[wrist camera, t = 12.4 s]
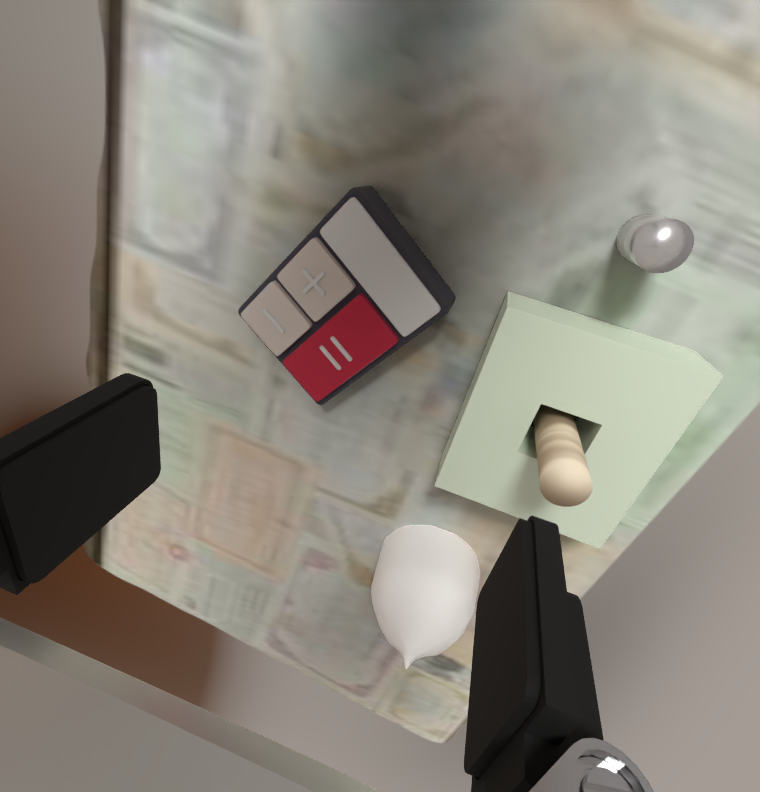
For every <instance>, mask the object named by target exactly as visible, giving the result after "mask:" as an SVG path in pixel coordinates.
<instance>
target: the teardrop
mask: <svg viewBox="0 0 760 792" xmlns="http://www.w3.org/2000/svg"><path fill="white" fill-rule="evenodd" d="M480 575H481V574H480V569H479V564H478V559H477V556H476V554H475V553H474V551H473V550H472V549H471V547H470V546H469V545H468V543H466V542H465V541H464V540H462V539H461V538H460V537H458V536H457V535H456V534H454V533H452V532H449V531H446V530H443V529H441V528H438V527H435V526H432V525H406V526H403V527H401V528H398V529H396V530H393V531H392V532H391V533H390V534H389V535H388V536H387V537H386V538H385V539H384V542H383V545H382V548H381V552H380V555H379V559H378V563H377V567H376V570H375V574H374V578H373V582H372V586H371V598H372V604H373V607H374V611H375V614H376V618H377V621H378V623H379V626H380V629H381V630H382V632H383V634H384V635H385V637H386V639H387V640H388V642H389V644H390V645H392V646H393V647H395V648H396V649H397V650H398V651H399V652H400V654H401V655H402V656H403V659H404V664H405V669H407V668H408V667H409V666H410V665H411V664H412V662H413V661H414V660H416V659H419V658H422V657H425V656H437V655H438V654H440V653H442V652H443V651H445V650H446V649H447V648H449V647H450V646H451V645H452V644H453V643H454V642H456V641H457V640H458V639H459V638H460V637H461V636H462V635H463V633H464V631H465V629H466V628H467V626H468V624H469V621H470V619H471V617H472V615H473V613H474V609H475V604H476V598H477V592H478V586H479V580H480Z"/></svg>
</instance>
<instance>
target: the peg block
mask: <svg viewBox="0 0 760 792" xmlns="http://www.w3.org/2000/svg"><path fill="white" fill-rule="evenodd" d="M722 378H723V375H722V374H721V373H719V372H718V371H717V370H716V369H715V368H714V367H713V366H712V365H710V364H709V363H708V362H707V361H706V360H705V359H704V358H702V357H701V356H700V355H699V354H698V353H697V352H696V351H695V350H692V349H689V348H686V347H682V346H679V345H676V344H673V343H670V342H667V341H663V340H660V339H657V338H654V337H651V336H648V335H645V334H641V333H638V332H635V331H632V330H629V329H626V328H623V327H619V326H616V325H613V324H610V323H607V322H604V321H601V320H597V319H594V318H591V317H588V316H585V315H582V314H579V313H575V312H572V311H569V310H566V309H563V308H560V307H556V306H553V305H550V304H547V303H544V302H541V301H538V300H534V299H531V298H528V297H525V296H522V295H519V294H516V293H512V292H509V291H508V292H507V294H506V297H505V299H504V302H503V304H502V307H501V309H500V312H499V314H498V317H497V319H496V322H495V324H494V327H493V329H492V332H491V334H490V337H489V339H488V342H487V344H486V347H485V349H484V352H483V354H482V357H481V359H480V362H479V364H478V367H477V369H476V372H475V374H474V377H473V379H472V382H471V384H470V387H469V389H468V392H467V394H466V397H465V399H464V402H463V404H462V407H461V409H460V412H459V414H458V417H457V419H456V422H455V424H454V427H453V429H452V432H451V434H450V437H449V439H448V442H447V444H446V447H445V449H444V452H443V454H442V458H441V462H440V466H439V470H438V474H437V478H436V482H435V486H436V487H439V488H441V489H444V490H446V491H449V492H452V493H454V494H457V495H460V496H462V497H465V498H467V499H470V500H473V501H475V502H478V503H481V504H483V505H486V506H488V507H491V508H494V509H496V510H499V511H502V512H504V513H507V514H509V515H512V516H515V517H517V518H520V519H521V518H522V519H525V520H528V518H529V517H530V516H535V517H538V518H541V519H544V520H547V521H550V522H553V523H555V524H557V525H558V528H559V534H562V535H565V536H567V537H570V538H573V539H575V540H578V541H580V542H583V543H586V544H588V545H591V546H594V547H596V548H599V549H600V548H601V547H602V545H603V544H604V543H605V541H606V540H607V538H608V537H609V536H610V534H611V533H612V532H613V530H614V529H615V527H616V526H617V525H618V523H619V522H620V520H621V519H622V518H623V516H624V515H625V513H626V512H627V511H628V509H629V508H630V506H631V505H632V504H633V502H634V501H635V499H636V498H637V497H638V495H639V494H640V492H641V491H642V490H643V488H644V487H645V485H646V484H647V483H648V481H649V480H650V478H651V477H652V476H653V474H654V473H655V471H656V470H657V469H658V467H659V466H660V464H661V463H662V462H663V460H664V459H665V457H666V456H667V455H668V453H669V452H670V450H671V449H672V448H673V446H674V445H675V443H676V442H677V441H678V439H679V438H680V436H681V435H682V434H683V432H684V431H685V429H686V428H687V427H688V425H689V424H690V422H691V421H692V420H693V418H694V417H695V416H696V414H697V413H698V411H699V410H700V409H701V407H702V406H703V404H704V403H705V402H706V400H707V399H708V397H709V396H710V395H711V393H712V392H713V390H714V389H715V388H716V386H717V385H718V383H719V382H720V381H721V379H722ZM541 404H543V405H546V406H549V407H552V408H555V409H558V410H561V411H563V412H566V413H569V414H572V415H575V416H578V417H579V418H578V419H577V421H576V426H577V430H578V433H579V437H580V441H581V444H582V448H583V452H584V455H585V459H586V462H587V466H588V470H589V473H590V477H591V480H592V485H593V490H592V493H591V495H590V497H589V498H588V499H587V500H586V501H585V502H583V503H581V504H579V505H576V506H572V507H562V506H558V505H555V504H552V503H551V502H549V501H548V500H546V499H545V498H544V496H543V495H542V493H541V490H540V483H539V472H538V462H537V452H536V442H535V432H534V427H531V426H530V425H531V423H532V421H533V419H534V417H535V415H536V413H537V411H538V409H539V407H540V405H541Z"/></svg>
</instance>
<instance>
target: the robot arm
mask: <svg viewBox="0 0 760 792" xmlns="http://www.w3.org/2000/svg"><path fill="white" fill-rule="evenodd" d="M160 470H161V464H160V444H159V425H158V406H157V392H156V390H155V389H154V388H153V385H152V383H151V382H150V381H149V380H146V379H144V378H141V377H138V376H135V375H132V374H129V373H125V374H122V375H120V376H118V377H116V378H114V379H112V380H110V381H109V382H107V383H105V384H103V385H101V386H99V387H97V388H95V389H93V390H91V391H89V392H87V393H86V394H84V395H82V396H80V397H78V398H76V399H74V400H72V401H70V402H68V403H66V404H64V405H63V406H61V407H59V408H57V409H55V410H53V411H51V412H49V413H47V414H46V415H43V416H42V417H40V418H38V419H36V420H34V421H32V422H30V423H28V424H26V425H24V426H22V427H20V428H19V429H17V430H15V431H13V432H11V433H9V434H7V435H5V436H3V437H1V438H0V588H2V589H5V590H7V591H9V592H11V593H14V594H16V595H18V594H19V593H20V592H21V591H22V590H24V589H25V588H26V587H27V586H28V585H29V584H31V583H36V582H38V581H40V580H42V579H43V578H44V577H45V576H47V575H48V574H49V573H50V572H51V571H52V570H54V569H55V568H56V567H57V566H58V565H59V564H60V563H62V562H63V561H64V560H65V559H66V558H67V557H68V556H70V555H71V554H72V553H73V552H74V551H75V550H77V549H78V548H79V547H80V546H81V545H82V544H84V543H85V542H86V541H87V540H88V539H89V538H90V537H92V536H93V535H94V534H95V533H96V532H97V531H98V530H100V529H101V528H102V527H103V526H104V525H105V524H107V523H108V522H109V521H110V520H111V519H112V518H113V517H115V516H116V515H117V514H118V513H119V512H120V511H121V510H123V509H124V508H125V507H126V506H127V505H128V504H130V503H131V502H132V501H133V500H134V499H135V498H136V497H138V496H139V495H140V494H141V493H142V492H143V491H145V490H146V489H147V488H148V487H149V486H150V485H151V484H153V483H154V482H155V481H156V479H157V478H158V476H159V474H160ZM464 770H465V772H466V773H468V774H470V775H472V788H471V792H653V789H652V787H651V785H650V783H649V782H648V780H647V779H646V777H645V776H644V775H643V773H642V772H641V771H640V769H639V768H638V767H637V765H636V764H635V763H634V762H633V761H632V760H631V759H630V758H629V757H628V756H626V754H624V753H623V752H622V751H621V750H619V749H618V748H616V747H615V746H613V745H612V744H610V743H608V742H606V741H604V740H603V735H602V728H601V722H600V715H599V709H598V703H597V696H596V690H595V684H594V678H593V671H592V665H591V659H590V652H589V647H588V640H587V634H586V628H585V621H584V615H583V608H582V604H581V601H580V599H579V597H578V596H577V595H574V594H571V593H569V592H567V589H566V581H565V574H564V566H563V558H562V550H561V543H560V535H559V528H558V525H557V524H555V523H553V522H550V521H547V520H544V519H541V518H538V517H535V516H530V517H529V518H528V520H525V519H522V518H521V519H519V521H518V522H517V524H516V526H515V528H514V530H513V531H512V533H511V535H510V537H509V539H508V541H507V543H506V545H505V546H504V548H503V550H502V552H501V554H500V556H499V558H498V560H497V561H496V563H495V565H494V567H493V569H492V571H491V573H490V575H489V577H488V578H487V580H486V582H485V584H484V586H483V588H482V590H481V592H480V595H479V598H478V602H477V610H476V623H475V635H474V647H473V659H472V671H471V683H470V695H469V708H468V720H467V733H466V744H465V756H464ZM0 792H381V791H379V790H377V789H375V788H373V787H370V786H368V785H366V784H364V783H362V782H360V781H358V780H356V779H354V778H352V777H350V776H347V775H346V774H343V773H341V772H339V771H337V770H335V769H333V768H331V767H329V766H327V765H325V764H322V763H320V762H318V761H316V760H314V759H311V758H309V757H307V756H305V755H303V754H301V753H298V752H296V751H294V750H291V749H290V748H287V747H285V746H283V745H281V744H279V743H277V742H274V741H272V740H270V739H268V738H266V737H264V736H261V735H259V734H257V733H255V732H253V731H250V730H248V729H246V728H244V727H242V726H239V725H237V724H235V723H233V722H231V721H229V720H226V719H224V718H222V717H220V716H218V715H216V714H213V713H211V712H209V711H207V710H204V709H202V708H200V707H198V706H196V705H193V704H191V703H189V702H187V701H185V700H182V699H180V698H178V697H176V696H173V695H171V694H169V693H167V692H165V691H163V690H160V689H158V688H156V687H154V686H152V685H149V684H147V683H145V682H143V681H141V680H138V679H136V678H134V677H132V676H129V675H127V674H125V673H122V672H121V671H118V670H116V669H114V668H112V667H109V666H107V665H105V664H103V663H100V662H98V661H96V660H94V659H92V658H89V657H87V656H85V655H83V654H81V653H78V652H76V651H74V650H72V649H70V648H67V647H65V646H63V645H61V644H58V643H56V642H54V641H52V640H49V639H47V638H45V637H43V636H40V635H38V634H36V633H34V632H31V631H29V630H27V629H25V628H22V627H20V626H18V625H15V624H13V623H11V622H9V621H7V620H4V619H2V618H0Z"/></svg>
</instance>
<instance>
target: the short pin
mask: <svg viewBox="0 0 760 792" xmlns="http://www.w3.org/2000/svg"><path fill="white" fill-rule="evenodd" d="M616 244H617V248H618V251H619V253H620V254H621V255H622V256H623V257H624V258H626V259H628V260H629V261H631V262H633V263H634V264H636V265H638V266H639V267H641V268H642V269H644V270H646V271H648V272H652V273H664V272H668V271H671V270H673V269H675V268H677V267H678V266H680V265H681V264H682V263H683V262H684V261H685V260H686V259H687V258H688V256H689V255H690V253H691V251H692V248H693V245H694V236H693V232H692V230H691V229H690V227H689V226H688V225H687V224H686V223H684V222H682V221H680V220H676V219H671V218H666V217H661V216H656V215H650V214H643V215H638V216H636V217H633V218H632V219H630V220H628V221H627V222H626V223H625V224H624V225H623V226H622V228H621V229H620V231H619V233H618V236H617V243H616Z"/></svg>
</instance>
